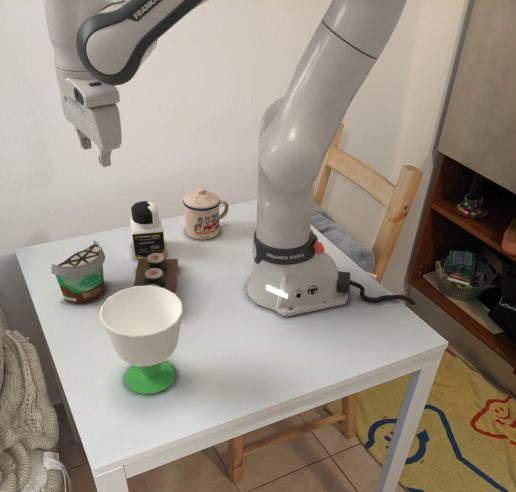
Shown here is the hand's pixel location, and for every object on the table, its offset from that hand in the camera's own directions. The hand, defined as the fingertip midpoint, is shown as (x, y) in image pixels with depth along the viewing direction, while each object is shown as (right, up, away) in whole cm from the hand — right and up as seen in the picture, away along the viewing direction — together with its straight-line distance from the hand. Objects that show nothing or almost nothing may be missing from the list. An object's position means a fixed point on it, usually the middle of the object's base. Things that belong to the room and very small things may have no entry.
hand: (95, 156), depth 109 cm
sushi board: (+9, -25, +13) cm, 30 cm away
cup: (+12, -43, -7) cm, 45 cm away
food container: (-4, -27, +11) cm, 29 cm away
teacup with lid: (+19, -8, +33) cm, 39 cm away
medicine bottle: (+6, -14, +25) cm, 30 cm away
